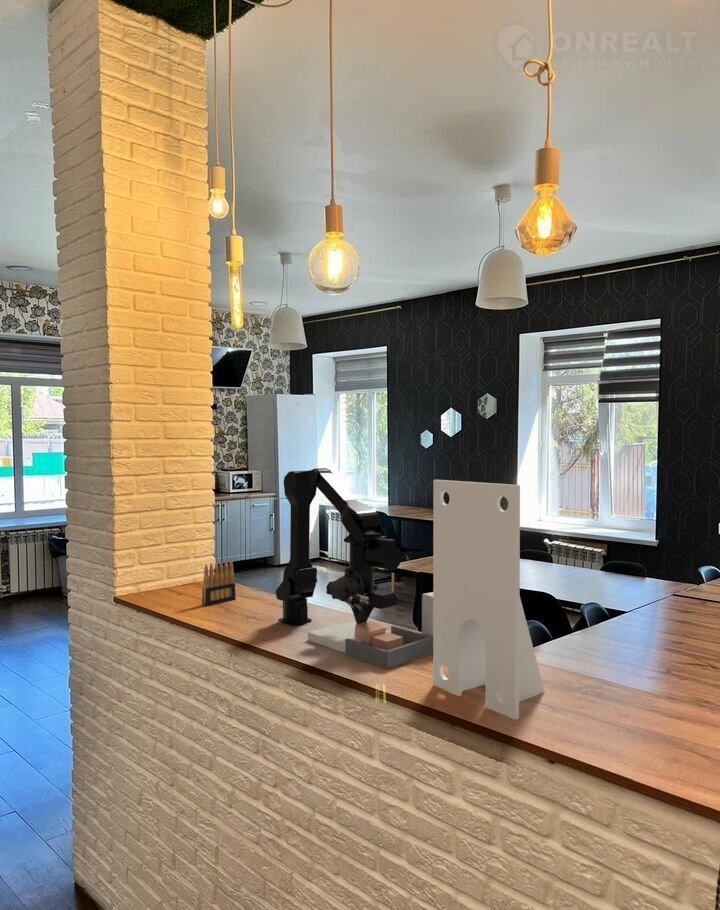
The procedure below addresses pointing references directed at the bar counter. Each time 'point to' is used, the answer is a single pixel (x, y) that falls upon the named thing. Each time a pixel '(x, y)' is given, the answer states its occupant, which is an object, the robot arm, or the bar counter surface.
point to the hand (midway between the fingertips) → (360, 629)
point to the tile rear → (368, 631)
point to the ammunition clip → (218, 584)
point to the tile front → (387, 641)
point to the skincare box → (427, 613)
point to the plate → (334, 635)
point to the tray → (411, 649)
